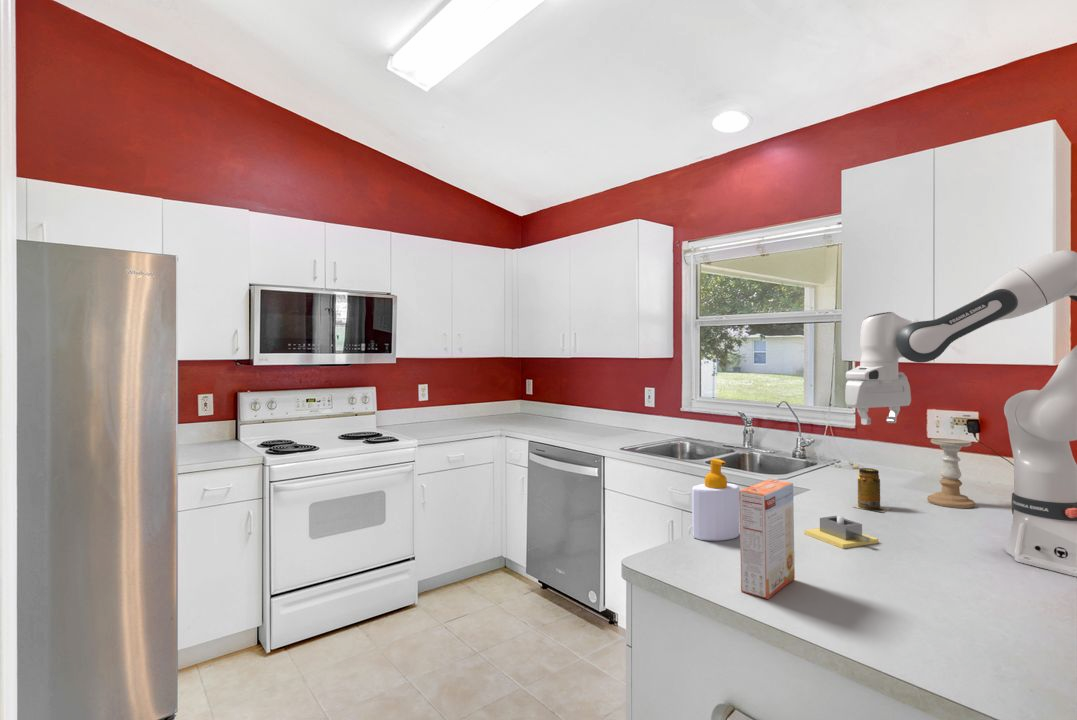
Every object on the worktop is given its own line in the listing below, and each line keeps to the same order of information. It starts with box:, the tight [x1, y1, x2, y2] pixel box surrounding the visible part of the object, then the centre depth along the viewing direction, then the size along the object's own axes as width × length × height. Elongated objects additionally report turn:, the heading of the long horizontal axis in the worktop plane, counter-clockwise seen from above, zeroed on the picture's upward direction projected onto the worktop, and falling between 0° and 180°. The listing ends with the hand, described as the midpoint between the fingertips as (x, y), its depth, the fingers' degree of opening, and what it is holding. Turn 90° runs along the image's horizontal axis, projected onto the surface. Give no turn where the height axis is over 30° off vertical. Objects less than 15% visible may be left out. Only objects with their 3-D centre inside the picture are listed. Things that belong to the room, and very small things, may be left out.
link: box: [819, 515, 870, 542], centre depth 142 cm, size 12×6×4 cm, turn 20°
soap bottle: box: [691, 458, 740, 542], centre depth 146 cm, size 13×8×20 cm, turn 105°
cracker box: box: [739, 478, 796, 600], centre depth 115 cm, size 14×6×21 cm, turn 134°
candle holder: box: [926, 437, 976, 509], centre depth 176 cm, size 12×12×20 cm
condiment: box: [852, 467, 892, 513], centre depth 172 cm, size 7×8×12 cm
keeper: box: [803, 515, 879, 549], centre depth 144 cm, size 12×12×6 cm
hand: (878, 423), depth 150 cm, fingers open, 8 cm apart
